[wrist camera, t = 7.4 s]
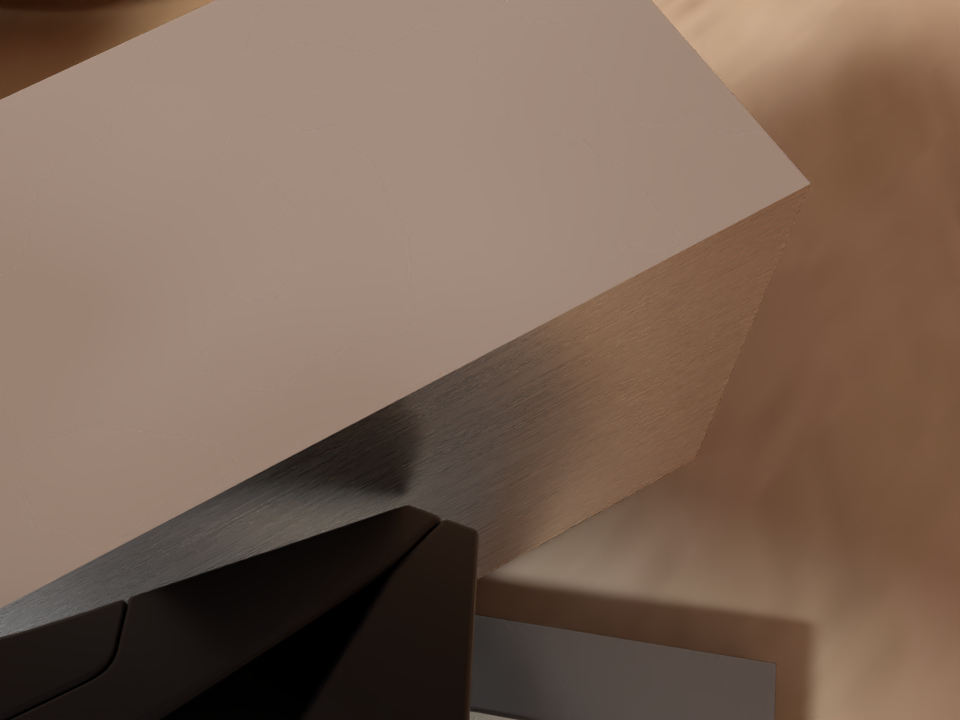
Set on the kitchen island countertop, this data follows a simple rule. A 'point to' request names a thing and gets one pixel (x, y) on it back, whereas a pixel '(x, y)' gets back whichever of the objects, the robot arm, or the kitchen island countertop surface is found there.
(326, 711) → the robot arm
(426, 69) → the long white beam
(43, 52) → the kitchen island countertop surface
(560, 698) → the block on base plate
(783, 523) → the kitchen island countertop surface
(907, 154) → the kitchen island countertop surface
